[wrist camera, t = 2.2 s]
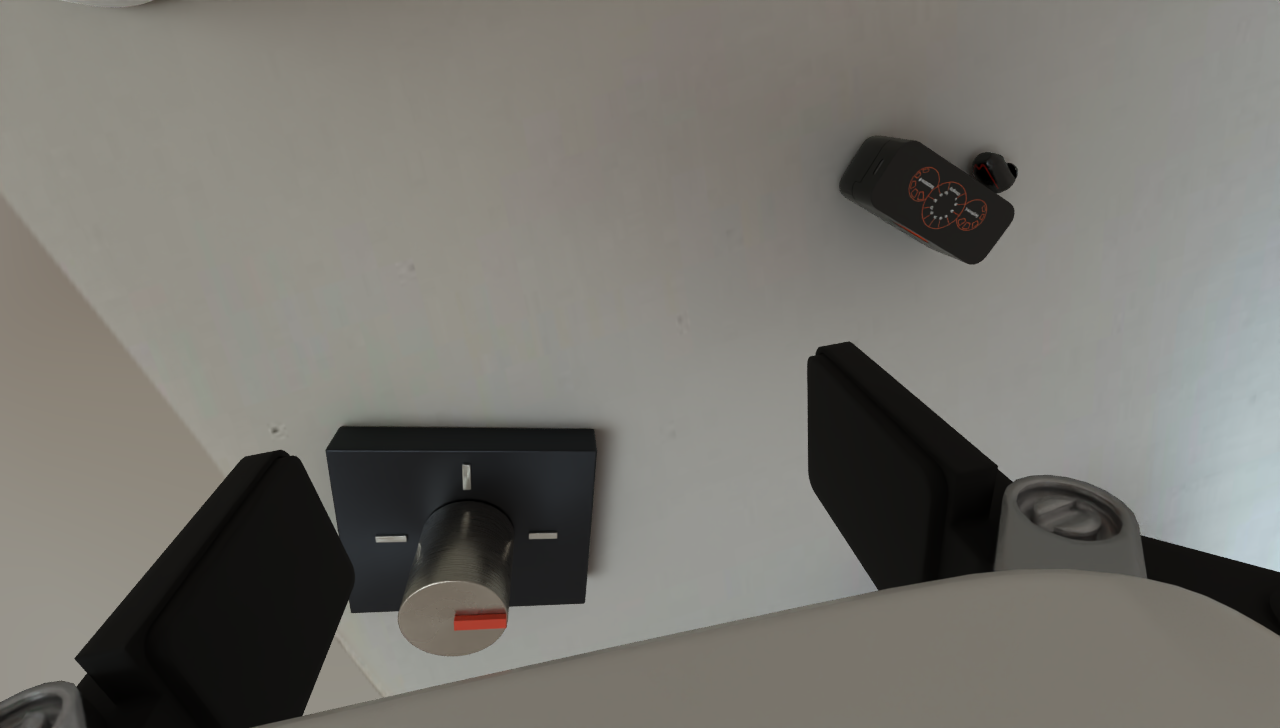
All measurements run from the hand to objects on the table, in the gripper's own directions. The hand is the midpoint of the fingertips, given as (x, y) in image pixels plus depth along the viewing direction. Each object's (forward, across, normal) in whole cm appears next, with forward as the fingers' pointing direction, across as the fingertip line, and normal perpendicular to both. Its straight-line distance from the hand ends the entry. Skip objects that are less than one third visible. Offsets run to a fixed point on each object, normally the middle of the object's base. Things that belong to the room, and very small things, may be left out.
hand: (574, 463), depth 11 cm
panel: (+16, +7, +13) cm, 22 cm away
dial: (+14, +7, +13) cm, 20 cm away
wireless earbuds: (+16, -16, 0) cm, 23 cm away
